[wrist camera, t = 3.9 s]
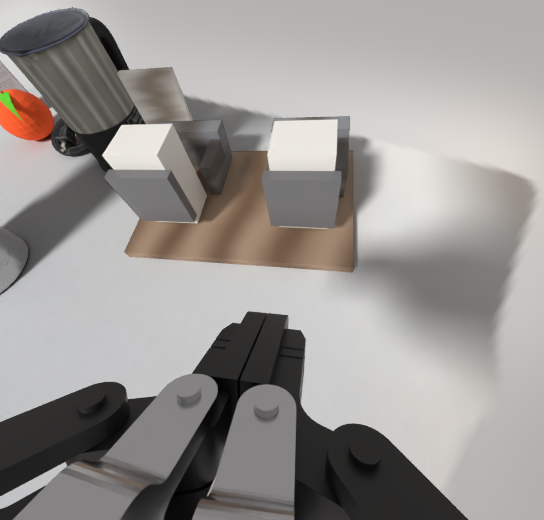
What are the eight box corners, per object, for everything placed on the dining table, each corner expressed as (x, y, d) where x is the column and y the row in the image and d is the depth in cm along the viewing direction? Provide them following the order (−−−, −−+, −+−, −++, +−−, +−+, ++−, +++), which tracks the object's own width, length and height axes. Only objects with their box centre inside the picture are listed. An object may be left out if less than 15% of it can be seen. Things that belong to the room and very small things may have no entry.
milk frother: (163, 165, 36) (84, 33, 23) (51, 197, 36) (-92, 81, 23) (157, 109, 43) (94, -15, 30) (64, 136, 43) (-40, 20, 30)
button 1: (272, 234, 27) (258, 164, 19) (278, 197, 29) (268, 121, 21) (332, 237, 26) (343, 164, 18) (334, 198, 28) (344, 119, 20)
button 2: (149, 228, 29) (91, 163, 21) (164, 194, 31) (116, 125, 24) (199, 231, 28) (158, 164, 20) (211, 195, 30) (177, 123, 23)
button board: (121, 255, 29) (32, 184, 20) (168, 156, 37) (120, 69, 27) (351, 272, 25) (378, 190, 16) (351, 155, 33) (369, 52, 23)
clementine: (71, 138, 42) (30, 92, 36) (28, 159, 41) (-21, 115, 35) (59, 117, 46) (20, 72, 40) (20, 136, 44) (-27, 92, 38)
